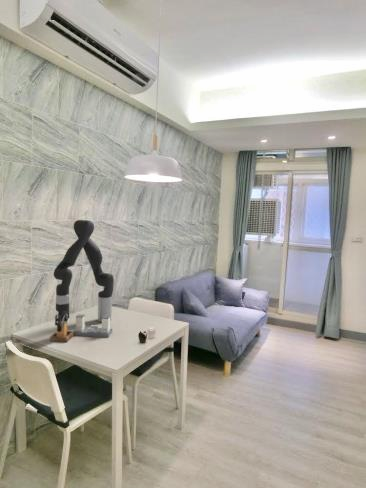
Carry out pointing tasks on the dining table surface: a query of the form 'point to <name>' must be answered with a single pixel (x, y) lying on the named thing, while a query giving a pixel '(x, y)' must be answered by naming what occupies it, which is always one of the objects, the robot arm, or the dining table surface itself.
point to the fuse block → (92, 327)
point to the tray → (62, 339)
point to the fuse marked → (63, 329)
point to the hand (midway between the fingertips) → (62, 328)
